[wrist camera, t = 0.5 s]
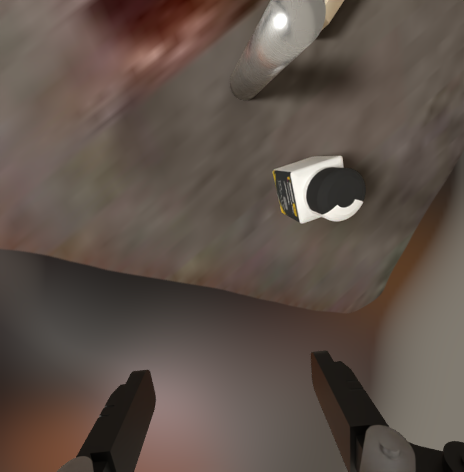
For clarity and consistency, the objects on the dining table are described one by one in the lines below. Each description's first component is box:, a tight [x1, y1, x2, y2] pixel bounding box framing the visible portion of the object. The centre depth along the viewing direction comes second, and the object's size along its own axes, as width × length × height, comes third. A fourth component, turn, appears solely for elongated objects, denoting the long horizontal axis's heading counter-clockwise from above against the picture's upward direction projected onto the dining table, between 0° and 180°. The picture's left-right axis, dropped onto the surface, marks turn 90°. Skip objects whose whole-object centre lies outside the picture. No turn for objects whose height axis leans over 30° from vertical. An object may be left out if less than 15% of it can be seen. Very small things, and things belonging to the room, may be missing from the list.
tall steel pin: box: [230, 0, 326, 101], centre depth 23 cm, size 4×4×16 cm
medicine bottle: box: [273, 156, 366, 223], centre depth 31 cm, size 7×7×12 cm
